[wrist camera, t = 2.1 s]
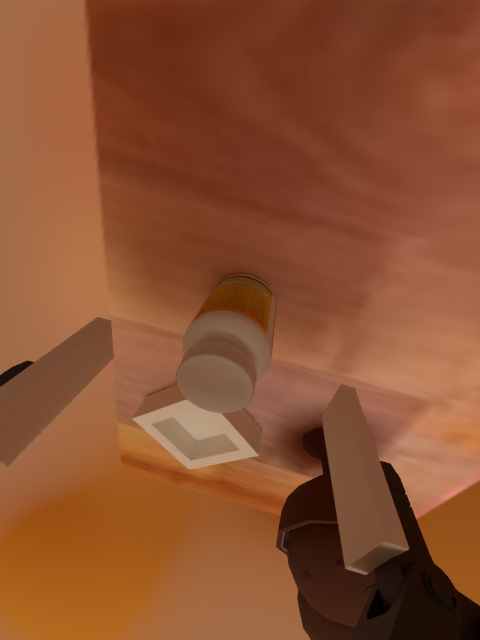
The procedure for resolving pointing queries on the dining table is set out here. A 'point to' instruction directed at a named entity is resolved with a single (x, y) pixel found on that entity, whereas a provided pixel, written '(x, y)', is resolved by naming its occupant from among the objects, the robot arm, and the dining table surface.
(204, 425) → the holder
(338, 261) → the dining table surface
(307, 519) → the ice cream bowl
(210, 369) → the supplement bottle
